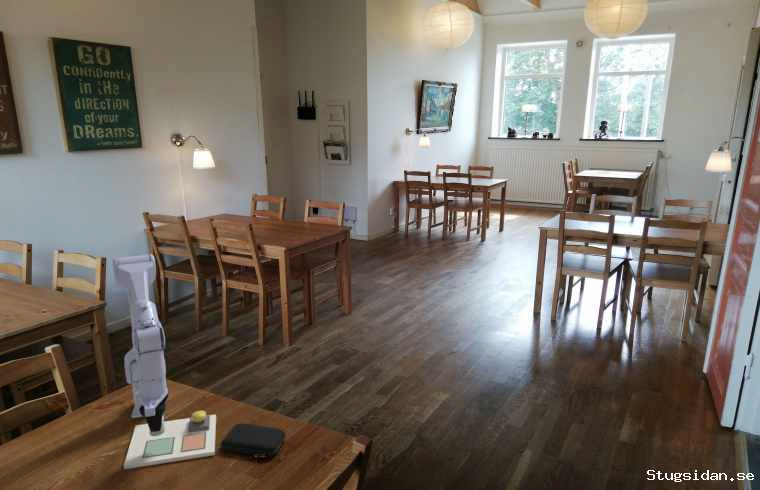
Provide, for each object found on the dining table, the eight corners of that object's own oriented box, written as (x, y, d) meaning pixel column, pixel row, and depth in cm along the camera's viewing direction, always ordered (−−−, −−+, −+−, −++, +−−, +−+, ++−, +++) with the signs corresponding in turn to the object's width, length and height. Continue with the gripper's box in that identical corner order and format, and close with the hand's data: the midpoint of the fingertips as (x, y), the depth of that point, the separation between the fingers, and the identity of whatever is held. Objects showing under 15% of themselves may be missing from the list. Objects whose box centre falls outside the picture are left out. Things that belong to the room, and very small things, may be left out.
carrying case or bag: (215, 455, 121) (272, 464, 118) (214, 444, 120) (272, 453, 117) (235, 429, 131) (288, 437, 128) (235, 419, 130) (288, 426, 128)
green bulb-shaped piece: (150, 428, 121) (148, 406, 120) (166, 426, 122) (163, 405, 121) (147, 437, 118) (145, 415, 116) (163, 435, 119) (161, 413, 117)
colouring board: (136, 428, 130) (135, 421, 129) (216, 417, 135) (215, 410, 135) (124, 469, 115) (123, 461, 114) (214, 455, 120) (214, 447, 120)
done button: (192, 418, 131) (192, 411, 130) (206, 416, 132) (206, 409, 132) (191, 426, 128) (191, 419, 127) (206, 424, 129) (205, 417, 128)
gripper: (138, 362, 122) (143, 411, 125) (127, 393, 108) (133, 447, 112) (169, 359, 124) (173, 407, 127) (162, 389, 110) (167, 442, 114)
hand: (157, 425), depth 120 cm, fingers closed on green bulb-shaped piece, 3 cm apart
